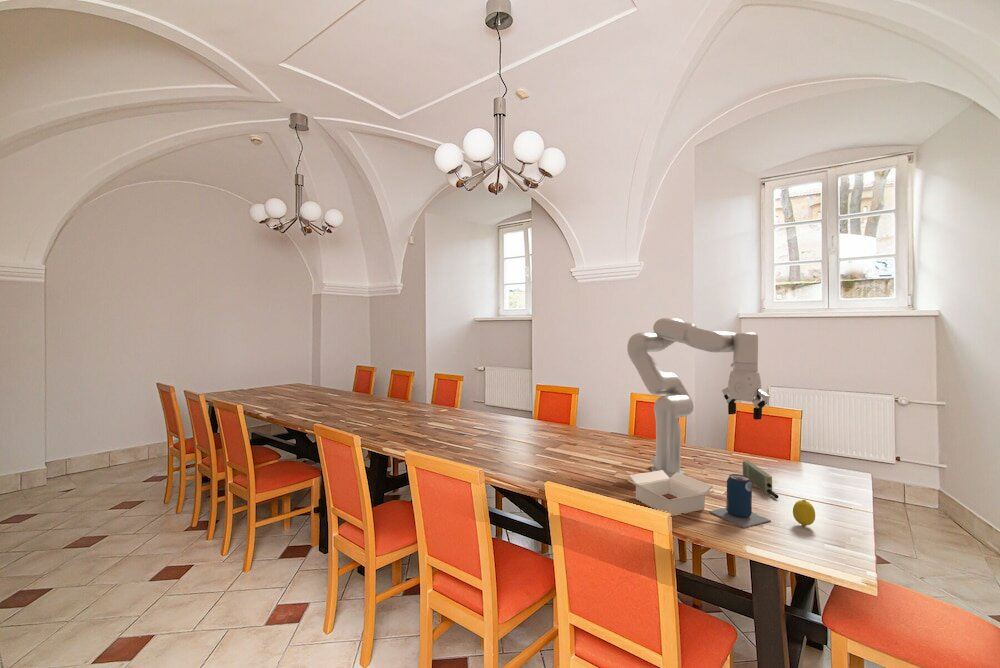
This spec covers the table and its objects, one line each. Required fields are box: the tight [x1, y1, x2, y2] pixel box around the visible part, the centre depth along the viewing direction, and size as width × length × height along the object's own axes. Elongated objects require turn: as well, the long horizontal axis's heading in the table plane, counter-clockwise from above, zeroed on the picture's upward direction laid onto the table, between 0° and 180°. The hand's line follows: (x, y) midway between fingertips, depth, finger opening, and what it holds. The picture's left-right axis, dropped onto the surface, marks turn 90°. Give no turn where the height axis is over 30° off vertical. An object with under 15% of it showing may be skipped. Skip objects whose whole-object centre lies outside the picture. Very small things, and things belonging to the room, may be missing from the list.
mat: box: [709, 507, 772, 529], centre depth 136 cm, size 12×12×1 cm
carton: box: [627, 470, 715, 516], centre depth 146 cm, size 22×22×7 cm
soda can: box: [725, 473, 753, 519], centre depth 137 cm, size 7×7×12 cm
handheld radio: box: [742, 459, 779, 499], centre depth 163 cm, size 7×3×25 cm
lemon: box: [792, 499, 816, 527], centre depth 130 cm, size 6×6×8 cm
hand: (744, 416), depth 152 cm, fingers open, 9 cm apart
